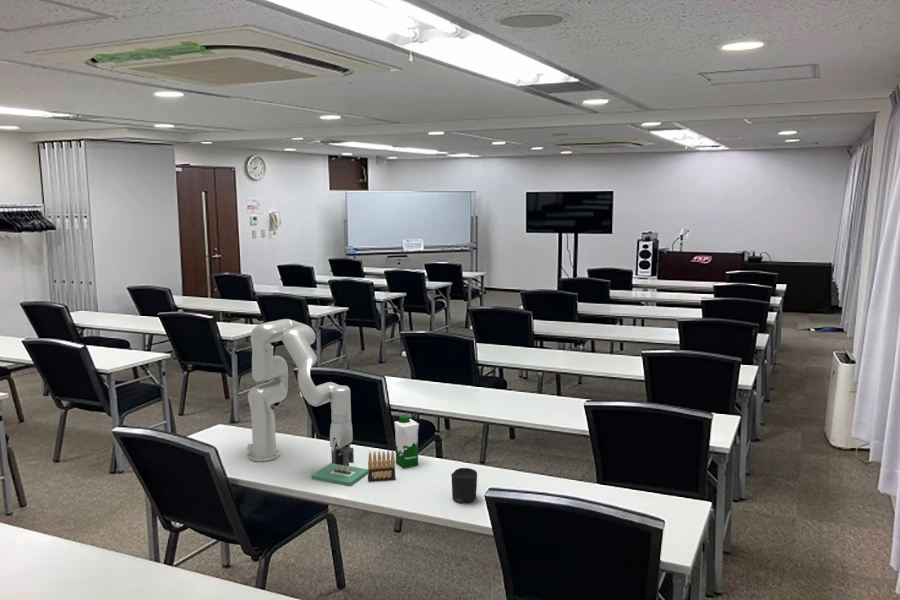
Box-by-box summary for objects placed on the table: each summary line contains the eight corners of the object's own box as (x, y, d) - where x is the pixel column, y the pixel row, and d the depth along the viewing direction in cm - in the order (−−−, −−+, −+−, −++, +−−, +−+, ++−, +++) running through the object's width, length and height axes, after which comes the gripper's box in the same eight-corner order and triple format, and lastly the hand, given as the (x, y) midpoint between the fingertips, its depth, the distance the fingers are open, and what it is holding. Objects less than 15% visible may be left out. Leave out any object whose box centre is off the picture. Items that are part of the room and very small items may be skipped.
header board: (311, 478, 264) (310, 466, 263) (331, 466, 277) (330, 453, 276) (350, 486, 257) (350, 473, 256) (369, 473, 270) (368, 460, 269)
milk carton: (411, 458, 285) (411, 413, 282) (421, 466, 277) (421, 419, 274) (392, 462, 280) (392, 416, 278) (402, 470, 273) (401, 422, 270)
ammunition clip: (395, 478, 265) (394, 448, 263) (395, 479, 263) (395, 450, 262) (367, 480, 263) (367, 450, 261) (368, 482, 261) (367, 452, 259)
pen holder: (447, 496, 249) (447, 470, 247) (470, 491, 252) (470, 466, 251) (457, 506, 240) (457, 479, 239) (481, 501, 244) (481, 475, 242)
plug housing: (331, 463, 265) (331, 448, 264) (337, 459, 269) (337, 445, 268) (348, 466, 262) (347, 451, 261) (353, 462, 266) (353, 447, 265)
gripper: (344, 410, 272) (345, 453, 275) (321, 422, 257) (322, 468, 259) (360, 412, 269) (361, 456, 272) (337, 425, 254) (339, 471, 257)
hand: (342, 461), depth 266 cm, fingers closed on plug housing, 4 cm apart
